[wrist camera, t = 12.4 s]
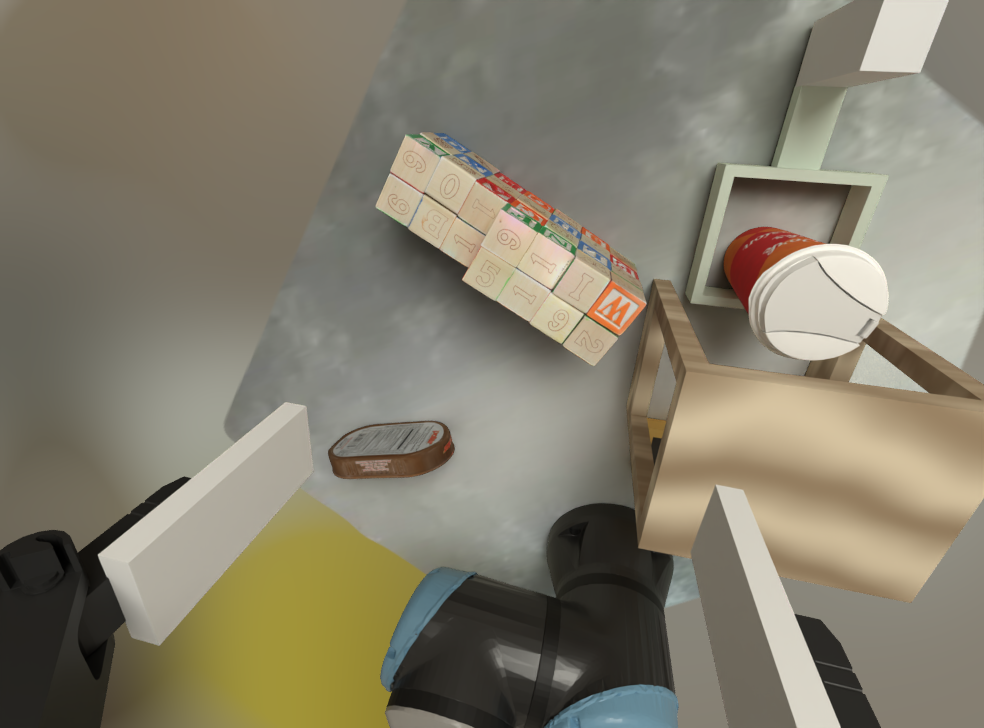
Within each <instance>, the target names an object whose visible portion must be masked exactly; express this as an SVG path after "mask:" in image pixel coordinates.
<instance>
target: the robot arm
mask: <svg viewBox="0 0 984 728" xmlns="http://www.w3.org/2000/svg"><path fill="white" fill-rule="evenodd" d="M313 471H314V470H313V461H312V453H311V444H310V435H309V426H308V418H307V409H306V406H303V405H298V404H292V403H287V402H285V403H284V404H283V405H281V406H280V407H279V408H278V409H277V410H275V411H274V412H273V413H272V414H270V415H269V416H268V417H267V418H266V419H264V420H263V421H262V422H261V423H259V424H258V425H257V426H256V427H254V428H253V429H252V430H251V431H250V432H248V433H247V434H246V435H245V436H243V437H242V438H241V439H240V440H238V441H237V442H236V443H235V444H234V445H233V446H231V447H230V448H229V449H227V450H226V451H225V452H224V453H222V454H221V455H220V456H219V457H218V458H216V459H215V460H214V461H213V462H211V463H210V464H209V465H208V466H206V467H205V468H204V469H203V470H202V471H200V472H199V473H198V474H197V475H195V476H194V477H193V478H188V477H182V478H180V479H178V480H176V481H174V482H172V483H169V484H167V485H165V486H163V487H162V488H160V489H159V490H158V491H156V492H155V493H154V494H153V495H151V496H150V497H149V498H147V499H146V500H145V503H141V504H140V505H139V506H137V507H136V508H135V509H133V510H132V511H131V513H130V514H127V515H126V516H124V517H123V518H122V519H120V520H119V521H118V522H117V523H115V524H114V525H113V526H111V527H110V528H109V529H108V530H106V531H105V532H104V533H103V534H101V535H100V536H99V537H97V538H96V539H95V540H94V541H92V542H91V543H90V544H88V545H87V546H86V547H84V548H83V549H82V550H81V551H79V552H78V553H77V550H76V548H75V546H74V544H73V542H72V539H71V537H70V536H69V535H68V534H67V533H65V532H64V531H58V530H49V531H41V532H37V533H34V534H31V535H28V536H25V537H22V538H20V539H18V540H16V541H14V542H12V543H10V544H9V545H7V546H6V547H4V548H3V549H2V550H0V728H100V725H101V720H102V714H103V709H104V703H105V698H106V692H107V686H108V681H109V674H110V670H111V664H112V658H113V653H114V647H115V640H114V635H113V633H114V632H115V631H116V630H117V629H118V628H119V627H120V626H121V625H122V624H123V623H124V622H126V625H127V627H128V630H129V632H130V635H131V637H132V638H135V639H139V640H142V641H145V642H149V643H152V644H156V645H160V644H161V643H162V642H163V641H164V640H165V639H166V638H167V636H168V635H169V634H170V633H171V632H172V631H173V630H174V629H175V627H176V626H177V625H178V624H179V623H180V622H181V621H182V619H183V618H184V617H185V616H186V615H187V614H188V613H189V612H190V611H191V609H192V608H193V607H194V606H195V605H196V604H197V603H198V601H199V600H200V599H201V598H202V597H203V596H204V595H205V594H206V592H207V591H208V590H209V589H210V588H211V587H212V585H213V584H214V583H215V582H216V581H217V580H218V579H219V578H220V576H221V575H222V574H223V573H224V572H225V571H226V569H228V567H229V566H230V565H231V564H232V563H233V562H234V561H235V559H236V558H237V557H238V556H239V555H240V554H241V553H242V552H243V550H244V549H245V548H246V547H247V546H248V545H249V544H250V542H251V541H252V540H253V539H254V538H255V537H256V536H257V535H258V533H259V532H260V531H261V530H262V529H263V528H264V527H265V526H266V524H267V523H268V522H269V521H270V520H271V519H272V518H273V517H274V515H275V514H276V513H277V512H278V511H279V510H280V509H281V507H282V506H283V505H284V504H285V503H286V502H287V501H288V499H289V498H290V497H291V496H292V495H293V494H294V493H295V492H296V491H297V489H298V488H299V487H300V486H301V485H302V484H303V483H304V481H305V480H306V479H307V478H308V477H309V476H310V475H311V474H312V472H313ZM691 557H692V561H693V566H694V570H695V575H696V580H697V584H698V589H699V593H700V598H701V603H702V607H703V612H704V616H705V621H706V625H707V630H708V635H709V639H710V644H711V648H712V653H713V657H714V662H715V667H716V671H717V676H718V680H719V685H720V690H721V694H722V699H723V703H724V708H725V712H726V717H727V721H728V726H729V728H881V727H880V725H879V723H878V720H877V718H876V716H875V714H874V712H873V710H872V708H871V706H870V704H869V702H868V700H867V698H866V695H865V694H863V693H862V687H861V685H860V683H859V681H858V679H857V677H856V675H855V673H853V672H852V667H851V664H850V662H849V660H848V658H847V656H846V654H845V652H844V650H843V648H842V646H841V643H840V642H839V641H838V640H837V639H836V638H835V636H834V635H833V634H832V633H831V632H830V630H829V629H828V628H827V627H826V626H825V624H824V623H823V622H822V621H821V620H819V619H815V618H810V617H806V616H802V615H797V614H794V613H793V610H792V608H791V605H790V603H789V600H788V598H787V595H786V593H785V590H784V588H783V586H782V583H781V581H780V578H779V576H778V573H777V571H776V568H775V566H774V564H773V561H772V559H771V556H770V554H769V551H768V549H767V547H766V544H765V542H764V539H763V537H762V534H761V532H760V530H759V527H758V525H757V522H756V520H755V517H754V515H753V513H752V510H751V508H750V505H749V503H748V500H747V498H746V495H745V493H744V491H743V490H742V489H736V488H731V487H726V486H721V485H715V487H714V490H713V493H712V495H711V498H710V501H709V503H708V506H707V509H706V511H705V514H704V517H703V520H702V522H701V525H700V528H699V530H698V533H697V536H696V538H695V541H694V544H693V547H692V549H691ZM547 562H548V567H549V571H550V574H551V578H552V582H553V586H554V590H555V594H556V598H554V597H550V596H547V595H544V594H541V593H537V592H534V591H530V590H527V589H524V588H520V587H517V586H513V585H510V584H506V583H503V582H500V581H497V580H494V579H490V578H487V577H484V576H481V575H478V574H477V573H476V572H465V571H460V570H456V569H452V568H447V567H440V568H436V569H434V570H432V571H431V572H429V573H428V574H427V575H426V576H425V578H423V580H422V581H421V582H420V584H419V585H418V587H417V588H416V590H415V591H414V593H413V595H412V596H411V598H410V600H409V602H408V604H407V606H406V608H405V610H404V611H403V613H402V616H401V618H400V620H399V622H398V624H397V627H396V629H395V631H394V633H393V636H392V639H391V641H390V647H389V649H388V652H387V654H386V656H385V659H384V661H383V665H382V670H381V676H380V679H381V682H382V685H383V686H384V687H385V688H386V690H387V691H389V692H391V691H392V693H391V696H390V699H389V702H388V705H387V708H386V711H385V714H386V717H387V720H388V723H389V726H390V728H678V722H677V713H678V700H677V697H676V695H675V688H674V681H673V674H672V666H671V659H670V652H669V644H668V637H667V631H666V623H665V615H664V606H665V602H666V599H667V595H668V591H669V587H670V583H671V579H672V576H673V566H674V564H673V556H672V555H671V554H666V553H661V552H656V551H651V550H646V549H641V548H638V539H637V527H636V515H635V510H633V509H631V508H627V507H624V506H619V505H613V504H592V505H586V506H582V507H579V508H576V509H573V510H571V511H569V512H568V513H566V514H564V515H563V516H562V517H561V518H559V519H558V520H557V522H556V523H555V524H554V526H553V527H552V529H551V531H550V534H549V539H548V546H547Z"/></svg>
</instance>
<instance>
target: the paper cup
mask: <svg viewBox="0 0 984 728" xmlns="http://www.w3.org/2000/svg"><path fill="white" fill-rule="evenodd" d="M724 271H725V274H726V276H727V278H728V280H729V282H730V284H731V286H732V288H733V289H734V291H735V293H736V295H737V296H738V298H739V300H740V301H741V303H742V305H743V306H744V308H745V310H746V311H747V313H748V315H749V321H750V325H751V328H752V331H753V333H754V334H755V336H756V337H757V339H758V340H759V341H760V342H761V343H762V344H763V345H764V346H765V347H766V348H768V349H769V350H770V351H772V352H774V353H776V354H778V355H781V356H784V357H788V358H793V359H801V360H825V359H829V358H834V357H837V356H840V355H843V354H845V353H848V352H850V351H852V350H854V349H855V348H857V347H858V346H860V345H859V344H858V343H860V342H861V341H862V340H863V339H864V338H867V337H868V336H869V335H870V334H871V332H872V331H873V330H874V329H875V328H876V327H877V325H878V324H879V323H878V322H879V320H880V318H881V317H882V314H883V315H885V314H886V311H887V308H888V302H889V294H888V288H887V281H886V277H885V274H884V272H883V270H882V268H881V266H880V265H879V264H878V263H877V262H876V260H875V259H874V258H872V257H871V256H870V255H868V254H867V253H865V252H863V251H861V250H859V249H857V248H854V247H851V246H848V245H841V244H825V243H822V242H819V241H816V240H813V239H809V238H806V237H803V236H800V235H797V234H794V233H791V232H788V231H784V230H781V229H777V228H772V227H758V228H753V229H750V230H748V231H746V232H744V233H742V234H741V235H739V236H738V237H737V238H736V239H735V240H734V241H733V242H732V243H731V244H730V246H729V247H728V249H727V251H726V253H725V256H724Z"/></svg>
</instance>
